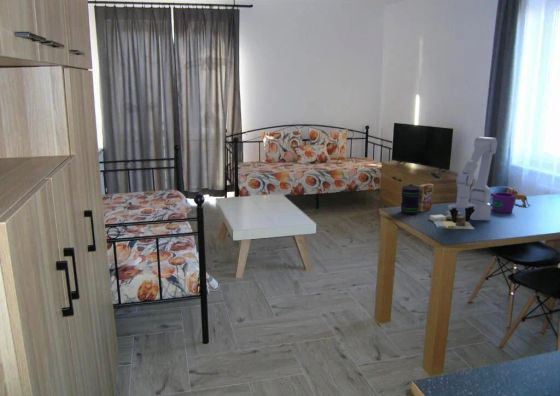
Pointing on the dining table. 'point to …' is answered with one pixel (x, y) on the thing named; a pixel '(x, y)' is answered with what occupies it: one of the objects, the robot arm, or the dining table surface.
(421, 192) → the candy box
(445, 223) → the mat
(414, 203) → the storage jar
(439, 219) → the soap bar
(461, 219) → the walnut cylinder
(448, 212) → the tin
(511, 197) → the mug
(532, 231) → the dining table surface
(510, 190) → the lion figurine
